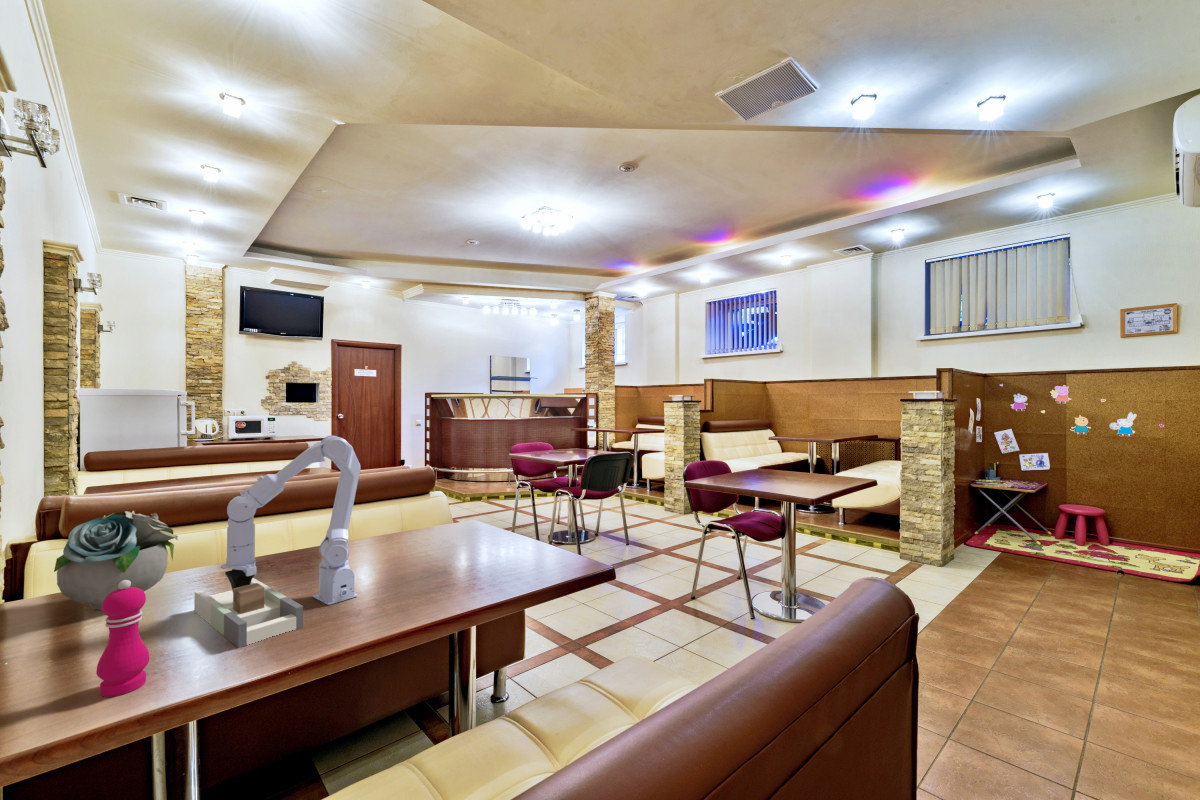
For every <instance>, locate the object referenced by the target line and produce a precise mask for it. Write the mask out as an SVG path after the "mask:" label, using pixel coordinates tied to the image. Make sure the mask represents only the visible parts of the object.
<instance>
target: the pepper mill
mask: <svg viewBox="0 0 1200 800" xmlns="http://www.w3.org/2000/svg"><path fill="white" fill-rule="evenodd" d="M130 586H131V582H130V581H129V580H123V581H121V582H120V583H119V584H118V588H119V589H117V590H115V591H113V592H111V593H110V594H109V595H107V596H106V598H105V599H104V601H103V603H102V610H101V611H102V613H103V614H104V615H106V616H107V617H106V618H105V624H104V626H105V627H106V628H108V630H109V631H108V632H109V634H108V642H107V644H106V647H105V649H104V650H103V653H102V654H101V655H100V657H99V660H98V663H97V666H96V670H95V671H96V673H95V674H96V676H97V677H98V678H99V679H100V680H102V681H101V682H100V683H99V695H100V696H102V697H105V698H106V697H107V698H111V697H117V696H122V695H124V694H128V693H131V692H133V691H136V690H138V689H139V688H141V687H143V685H145V683H146V682H147V671H145V670H144V669H145V668H146V667H147V665H148V664H149V663H150V652H149V649H148V647H147V645H146V644H145V643H144V641H143V640H142V638H141V635H140V632H139V626H140V625H139V623H140V621H141V620H142V619H143V616H142V614H143V611H142V610H141V609H142V608H143V607H144V606H145V604H146V601H147V596H146V593H145V591H143V590H141V589H139V588H137V587H130Z"/></svg>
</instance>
